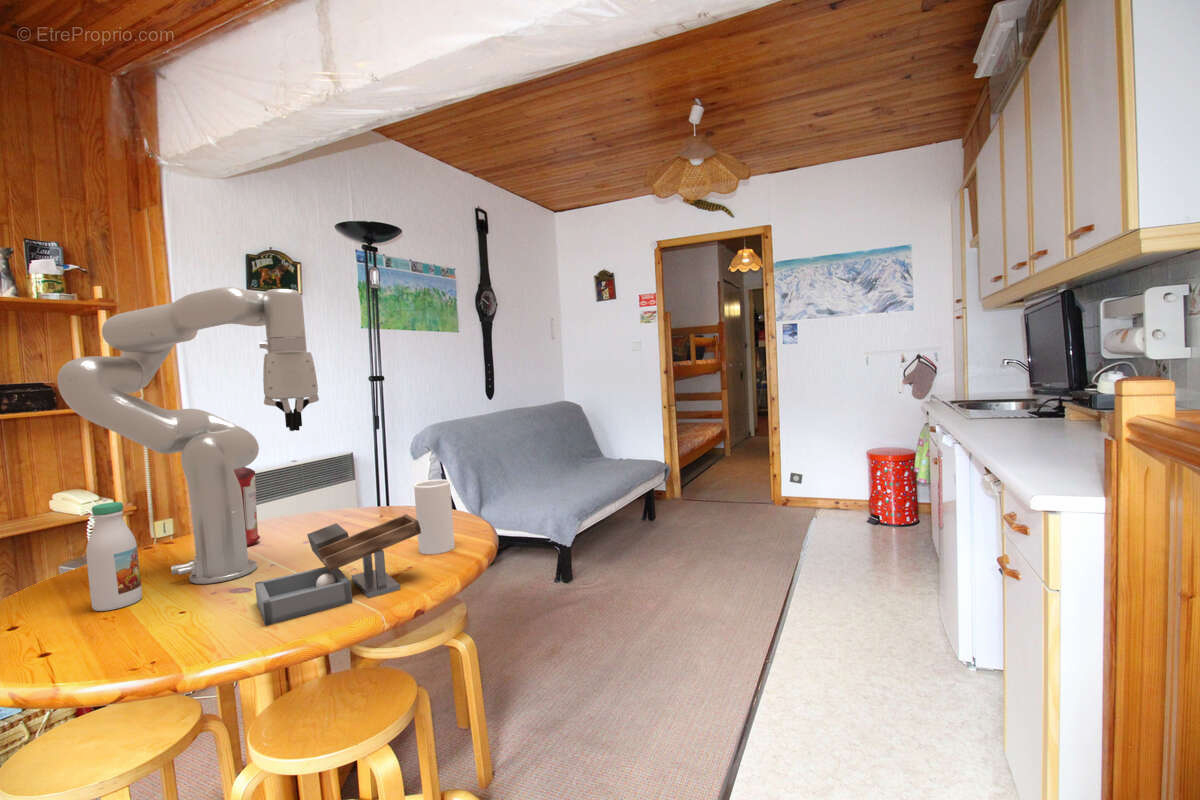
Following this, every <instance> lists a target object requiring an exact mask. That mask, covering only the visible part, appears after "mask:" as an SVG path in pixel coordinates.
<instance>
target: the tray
mask: <svg viewBox="0 0 1200 800" xmlns="http://www.w3.org/2000/svg"><path fill="white" fill-rule="evenodd" d="M323 574H332V575H333V576H334V577H335V579H336V583H335V584H331V585H327V586H323V587H319V588H317V587H316V582H317V579H318V578H319V577H320V576H321V575H323ZM351 584H352V583H351V581H350V579H349V578H348V577H347V576H346V575H345V574H344V573H343V571H342V570H341V569H340V568H337V569H335V570H332V571H329V570H328V569H327V568H326V567H325V566H322V567H318V568H314V569H309V570H305V571H301V572H295V573H292V574H287V575H282V576H279V577H275V578H269V579H266V580H262V581H261V580H259V581H256V582H255V583H254V585H255V586H254V587H255V594H256V596H255V597H256V605H257V607H258V610H259V613H260V615H261V617H262V621H263V623H264V625H265V627H266V626H270V625H274V624H277V623H281V622H285V621H290V620H293V619H297V618H300V617H305V616H307V615H312V614H315V613H319V612H323V611H326V610H330V609H333V608H338V607H341V606H344V605H348V604H353V595H352V585H351Z"/></svg>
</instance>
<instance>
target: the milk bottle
mask: <svg viewBox="0 0 1200 800" xmlns="http://www.w3.org/2000/svg"><path fill="white" fill-rule="evenodd" d="M123 513H124V505H123V502H121V501H111V502H103V503H100V504H99V503H98V504H96V505H93V506H92V507H91V514H92V518H93V519H94V524H93V525H94V526H93V529H92V532H91V534H90V535H89V538H88V541H87V544H86V551H85V552H86V554H85V555H86V564H87V565H86V567H87V575H88V585H89V586H88V587H89V594H90V602H91V603H90V604H91V608H92V610H93V611H95V612H105V611H112V610H117V609H122V608H125V607H128V606H130V605H133V604H135V603H137V602H139V601H140V600H142V597H143V589H142V588H143V587H142V580H141V571H140V569H141V568H140V562H139V561H140V560H139V552H138V545H137V540H136V538H135V536H134V533H133V531H132V530H131V529H130V528H129V527H128V526H127V524H126V522H125V520H124V517H123Z"/></svg>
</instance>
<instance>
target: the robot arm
mask: <svg viewBox="0 0 1200 800" xmlns="http://www.w3.org/2000/svg"><path fill="white" fill-rule="evenodd" d="M303 305H304V301H303V296H302V294H301V293H300V291H299V290H295V289H290V288H289V289H288V288H273V289H267V290H266V291H264V293H263V292H256V291H252V290H248V289H244V288H239V287H233V286H231V287H229V286H227V287H225V286H223V287H217V288H210V289H207V290H202V291H196V292H193V293H189V294H186V295H183V296H182V297H180V298H178V299H176V300H175V301H173V302H170V303H165V304H160V305H154V306H151V307H145V308H141V309H140V308H139V309H135V310H130V311H125V312H122V313H117V314H115V315H113V316H111V317H109V318H108V319H106V321H105V322H104V323H103V325H102V328H101V336H102V338H103V340H104V341H105V342H106V344H108V345H109V346H110V347H111V348H113V349H115V350H118V351H121V352H122V353H121V354H120V356H106V355H105V356H103V355H101V356H95V355H94V356H93V355H92V356H84V357H79V358H74V359H72V360H70V361H67V362H66V363H65V364H64V365H62V367H61V368H60V369H59V371H58V374H57V388H58V390H59V394H60V396H61V397H62V399H63V401H64V402H65V403H66V405H67V406H68V407H69V408H70V409H71V410H72V411H73V412H75V413H76V414H77V415H79V416H80V417H82V418H83V419H85V420H87V421H89V422H91V423H93V424H95V425H98V426H100V427H101V428H105V429H107V430H109V431H112V432H114V433H116V434H118V435H120V436H122V437H124V438H126V439H128V440H129V441H133V442H134V443H136V444H139V445H141V446H143V447H145V448H147V449H150V450H151V451H153V452H156V453H160V454H163V455H171V454H176V453H181V455H180V463H181V468H182V470H183V472H184V476H185V478H186V483H187V487H188V492H189V500H190V509H191V510H190V511H191V519H192V529H193V537H194V538H193V539H194V548H195V556H194V559H193V560H189V561H188V562H187V563H177V564H173V565H170V566H171V567H170V568H171V575H172V576H173V575H178V576H182V575H186V574H189V573H190V574H189V577H188V579H189V582H190V583H192V584H196V585H198V584H199V585H200V584H201V585H204V584H205V585H206V584H215V583H216V584H217V583H221V582H227V581H230V580H235V579H238V578H241V577H243V576H244V577H245V576H246V575H248V574H250V573H252V572H254V571H255V570H256V569H257V567H258V565H257V561H256V560H253V559H249V554H248V546H247V542H246V531H245V520H244V510H243V500H242V492H241V487H240V484H239V481H238V479H237V477H236V475H235V472H234V470H237V469H240V468H243V467H247V466H248V465H251V464H252V463H253V462H254V461H255V460H256V459H257V458H258V455H259V451H260V450H259V449H260V446H259V443H258V441H257V439H256V437H255V436H254V435H253V434H252V433H251V432H250V431H248V430H247V429H245V428H242V427H241V426H239V425H236V424H234V423H232V422H230V421H228V420H226V419H224V418H222V417H219V416H217V415H215V414H213V413H210V412H208V411H205V410H201V409H197V408H181V409H167V408H162V407H160V406H158V405H155V404H153V403H151V402H148V401H147V400H145V399H142V398H140V397H137V396H135V395H131V394H133V393H137V392H138V391H141V390H142V389H144V388H145V387H146V386H147V385H148V384H149V383H150V381H152V379H153V377H154V376H155V375H156V374H157V372H158V370H159V369H160V367H161V366H162V364H163V363H164V362H165V360H166V359H167V357H168V356H169V354H170V352H171V351H172V350H173V348H174V345H175V344H180V343H184V342H190V341H191V340H194V339H195V338H196V336H197V334H198V331H199V330H204V329H207V328H213V327H217V326H223V325H229V324H231V325H241V326H249V327H264V326H265V334H266V339H265V341H264V340H263V341H260V342H259V349H264V350H266V351H267V353H264V356H263V372H262V375H263V382H262V383H263V393H264V399H263V404H264V405H265V406H270V407H276V408H278V409H279V410H280V411H282V412H283V413H284V419H285V426H286V428H287V429H289V432H294V431H300V430H301V429H300V427H303V419H302V412H303V410H304V409H305V408H306V407H307V406H308V405H309V404H313V403H316V402H318V401H319V400H320V398H319V394H318V393H319V388H318V379H317V373H316V368H315V367H316V366H315V361H314V358H313V355H312V352H311V351H309V352H308V351H307V341H306V340H307V339H306V336H307V335H306V327H305V315H304V313H305V312H304V306H303ZM304 398H305V399H304ZM290 399H294V401H295V402H294V409H291V406H290V402H289V400H290Z"/></svg>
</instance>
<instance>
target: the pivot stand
mask: <svg viewBox="0 0 1200 800" xmlns="http://www.w3.org/2000/svg"><path fill="white" fill-rule="evenodd" d="M373 554H374V555H373V556H372V554H370V555H368V556H366V557H363V558H362V567H363V572H360V573H356V574H352V575H351V581H352V582H353V583H354V585H356V586H357V587H358V589H359V590H360V589H361V590H362V591H361V590H360V591H361V592H362V593H363V594H364V595H365V596H366V597H367V598H368V599H370V598H369V597H371V598H374V597H373V596H375V597H378V596H382V595H385V593H386V594H390V593H392V592H396V590H397V591H400V590H401V585H400V583H398V581H396V580H395V579H394V578H393V577H392V575H391V576H390V575H389V574H388V573H387V572H386V562H385V550H384V549H382V550H379V551H375V552H374V553H373ZM372 557H374V565H373V558H372ZM373 567H374V568H375V569H374V568H373ZM389 592H390V593H389ZM381 594H382V595H381ZM377 595H378V596H377Z"/></svg>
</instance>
